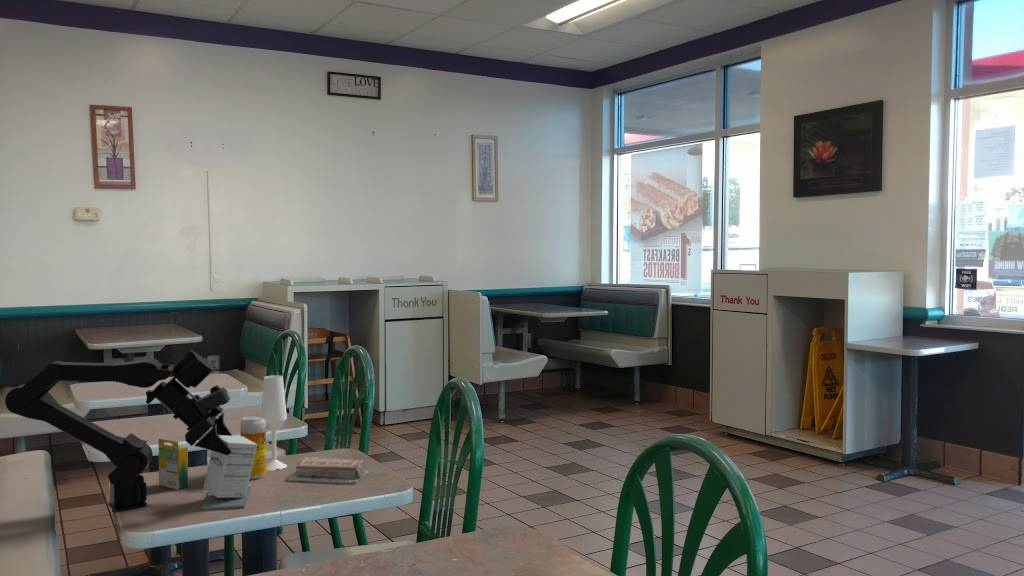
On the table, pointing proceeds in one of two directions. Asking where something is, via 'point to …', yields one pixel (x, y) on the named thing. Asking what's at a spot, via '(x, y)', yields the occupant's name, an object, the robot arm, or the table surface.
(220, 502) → the mat
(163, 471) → the crayon box
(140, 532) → the table surface
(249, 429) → the beer can
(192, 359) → the robot arm
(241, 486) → the supplement box
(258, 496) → the table surface
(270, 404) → the champagne flute
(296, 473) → the packaged product
